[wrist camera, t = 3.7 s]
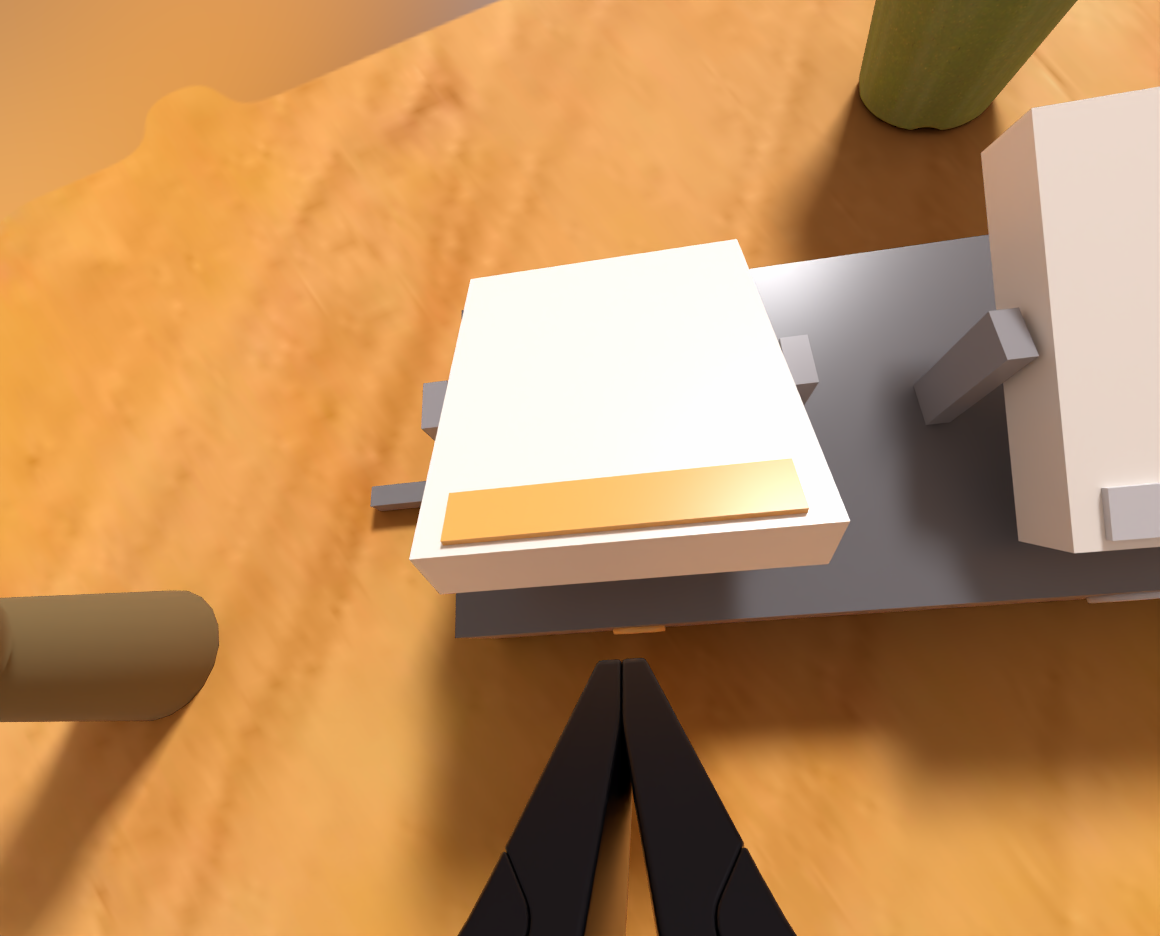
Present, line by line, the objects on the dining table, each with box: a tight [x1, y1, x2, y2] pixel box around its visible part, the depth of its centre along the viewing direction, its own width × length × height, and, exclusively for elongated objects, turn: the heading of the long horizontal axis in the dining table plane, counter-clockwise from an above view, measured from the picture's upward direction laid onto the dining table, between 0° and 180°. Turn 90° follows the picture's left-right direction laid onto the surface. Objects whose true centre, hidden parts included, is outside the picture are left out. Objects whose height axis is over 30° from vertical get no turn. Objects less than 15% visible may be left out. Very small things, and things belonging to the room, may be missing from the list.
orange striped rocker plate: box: [409, 239, 850, 594], centre depth 16 cm, size 12×10×2 cm
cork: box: [0, 591, 219, 722], centre depth 20 cm, size 6×6×11 cm
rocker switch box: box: [371, 235, 1160, 638], centre depth 19 cm, size 14×36×10 cm, turn 93°
